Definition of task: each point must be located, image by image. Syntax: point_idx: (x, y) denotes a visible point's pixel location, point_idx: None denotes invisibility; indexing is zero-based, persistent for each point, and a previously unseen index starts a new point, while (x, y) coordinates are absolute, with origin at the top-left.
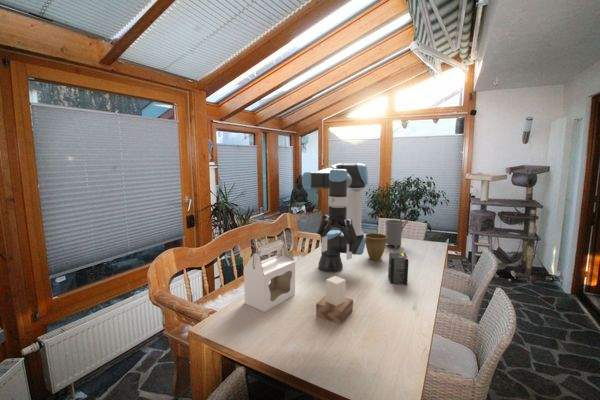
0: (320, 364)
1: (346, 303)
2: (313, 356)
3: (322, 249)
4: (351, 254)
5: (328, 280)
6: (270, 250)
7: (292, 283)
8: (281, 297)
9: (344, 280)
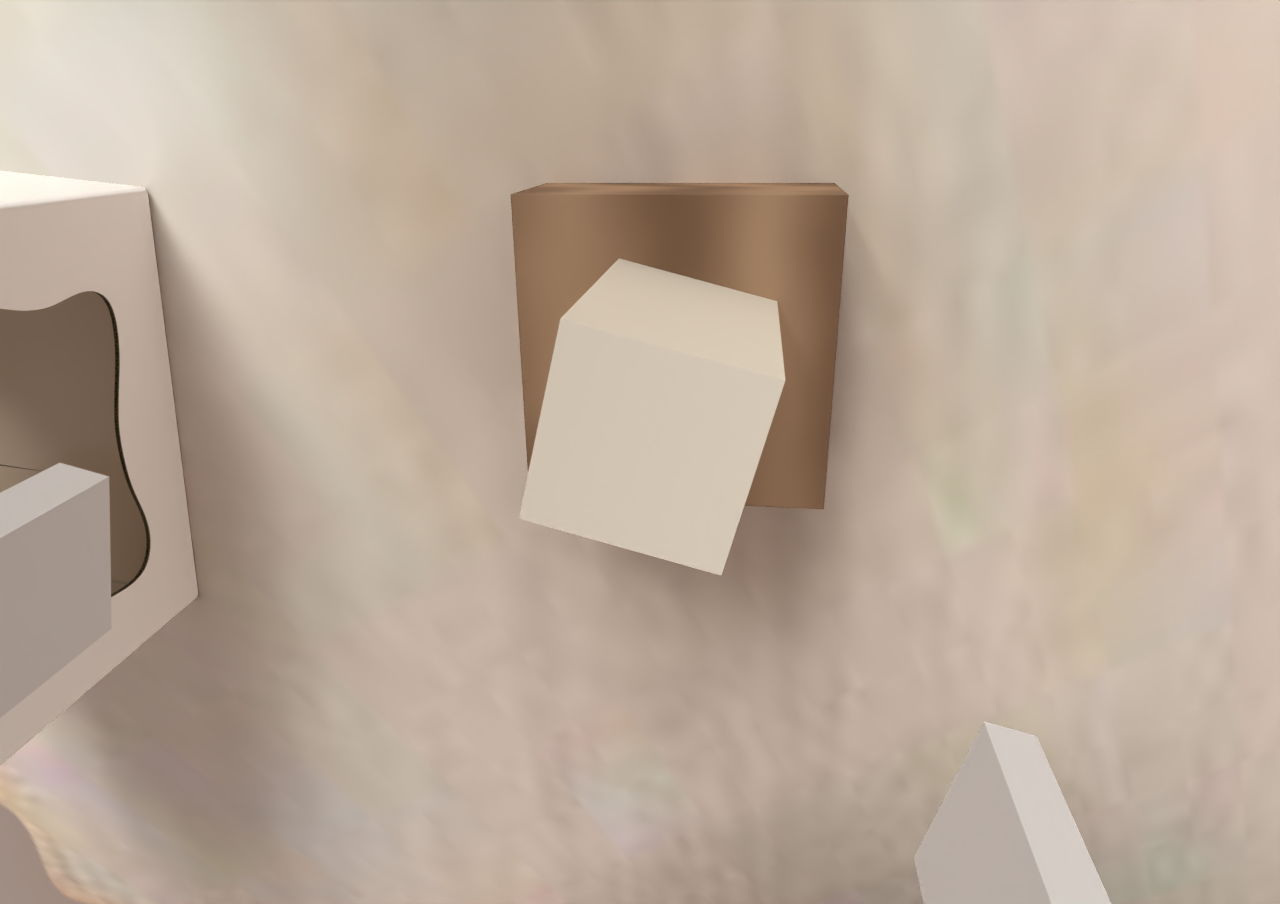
0: (848, 872)
1: (808, 331)
2: (781, 837)
3: (42, 660)
4: (1063, 849)
5: (564, 528)
6: None
7: (45, 259)
8: (142, 420)
9: (775, 407)
